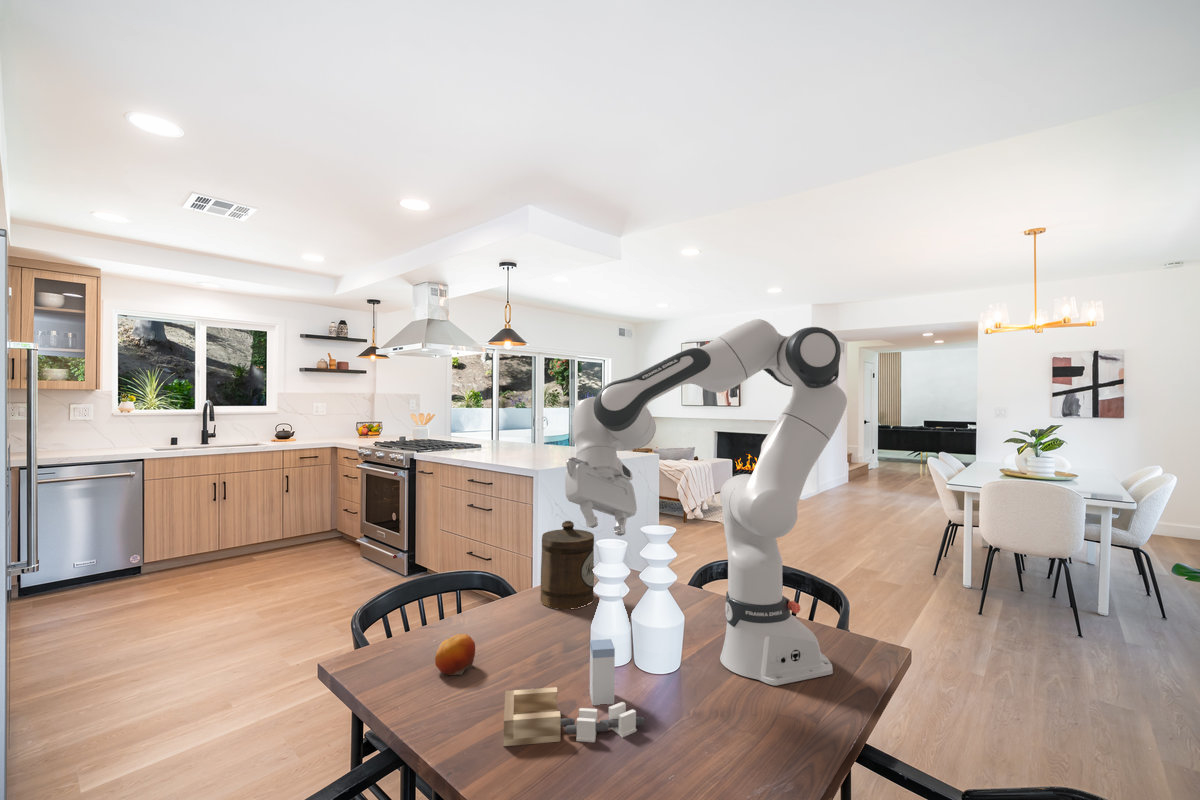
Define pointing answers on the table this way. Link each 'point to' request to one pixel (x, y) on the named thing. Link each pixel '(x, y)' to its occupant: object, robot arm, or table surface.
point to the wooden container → (567, 567)
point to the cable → (600, 726)
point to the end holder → (531, 716)
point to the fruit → (455, 654)
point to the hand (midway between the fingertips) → (606, 530)
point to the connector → (602, 671)
